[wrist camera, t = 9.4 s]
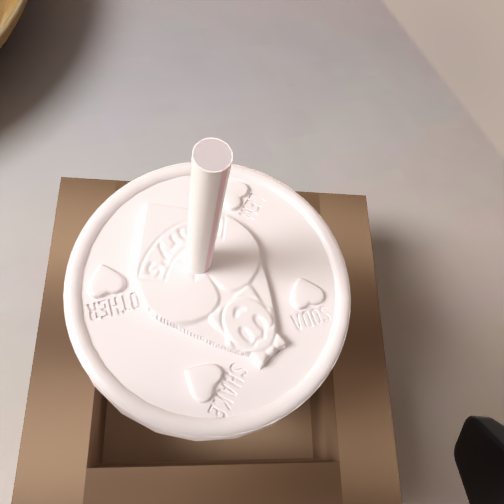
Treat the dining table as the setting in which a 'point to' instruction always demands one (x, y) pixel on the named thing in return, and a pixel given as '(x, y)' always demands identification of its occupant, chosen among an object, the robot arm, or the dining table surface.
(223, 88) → the dining table surface
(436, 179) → the dining table surface
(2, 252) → the dining table surface
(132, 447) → the caddy
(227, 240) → the smoothie
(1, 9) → the plant saucer
